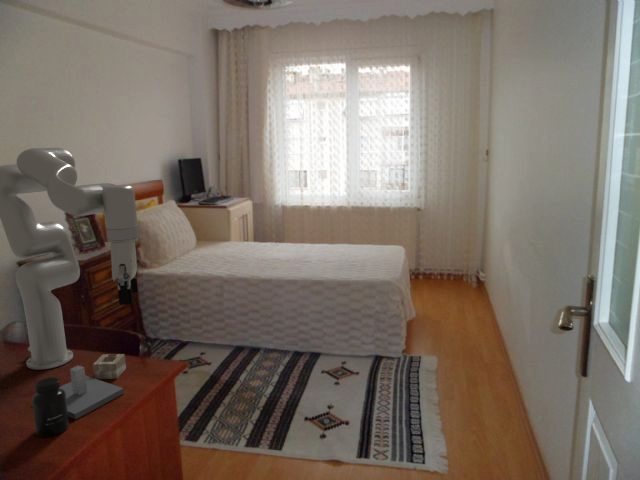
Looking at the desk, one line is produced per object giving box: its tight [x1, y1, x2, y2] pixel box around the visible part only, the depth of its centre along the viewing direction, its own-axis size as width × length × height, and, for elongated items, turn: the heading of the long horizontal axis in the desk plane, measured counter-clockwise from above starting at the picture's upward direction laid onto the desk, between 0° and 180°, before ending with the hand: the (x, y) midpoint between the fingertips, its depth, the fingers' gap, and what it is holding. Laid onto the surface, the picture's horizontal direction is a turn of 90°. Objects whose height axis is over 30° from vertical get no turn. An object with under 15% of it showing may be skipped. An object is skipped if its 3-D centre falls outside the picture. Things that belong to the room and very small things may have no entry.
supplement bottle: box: [31, 377, 70, 438], centre depth 113 cm, size 7×7×12 cm
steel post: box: [69, 365, 87, 396], centre depth 127 cm, size 2×2×7 cm
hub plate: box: [60, 374, 125, 420], centre depth 127 cm, size 16×14×2 cm
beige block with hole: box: [92, 353, 127, 380], centre depth 141 cm, size 6×6×5 cm
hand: (129, 298), depth 128 cm, fingers open, 9 cm apart
